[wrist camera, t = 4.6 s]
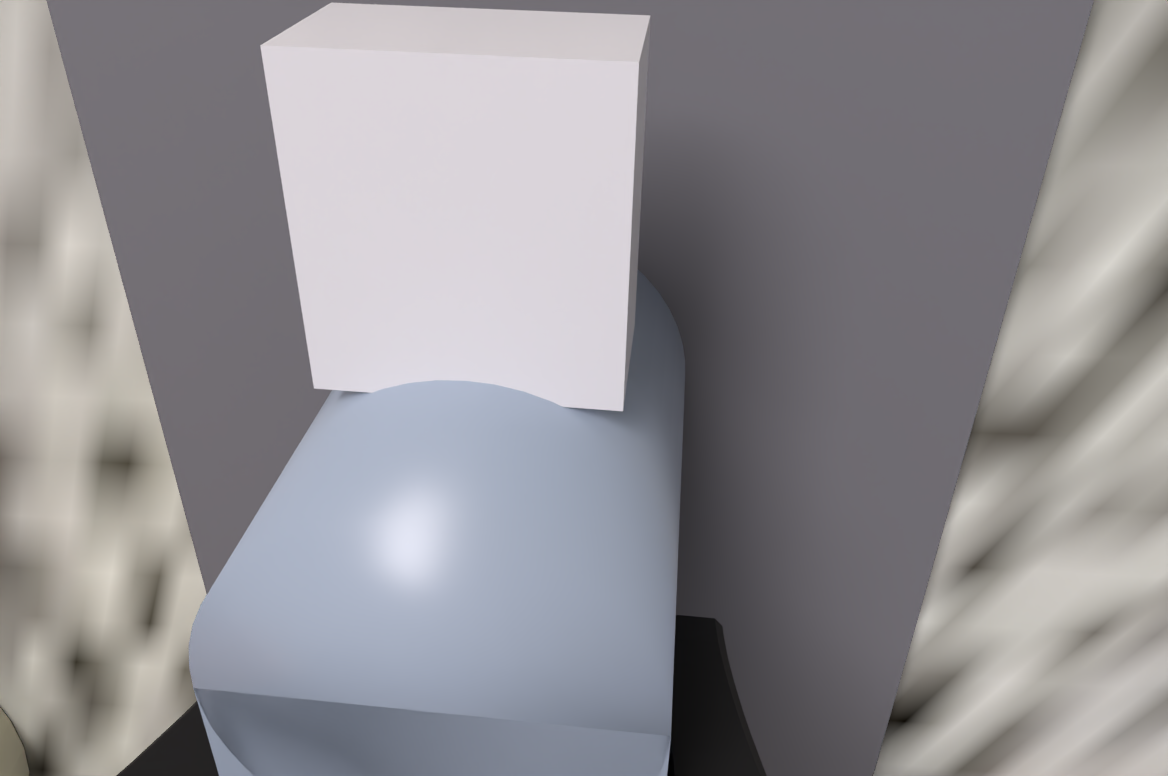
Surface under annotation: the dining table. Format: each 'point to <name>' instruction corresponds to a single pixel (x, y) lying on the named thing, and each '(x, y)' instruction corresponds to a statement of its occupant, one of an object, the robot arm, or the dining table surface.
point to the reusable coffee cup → (11, 750)
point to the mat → (678, 272)
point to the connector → (461, 414)
